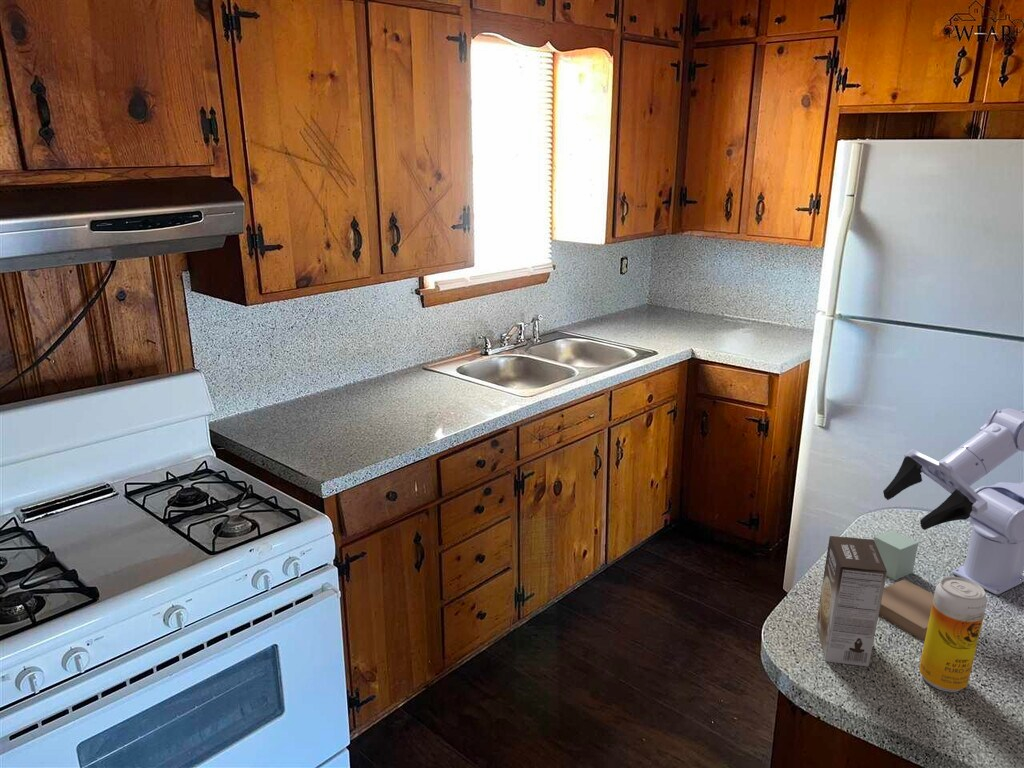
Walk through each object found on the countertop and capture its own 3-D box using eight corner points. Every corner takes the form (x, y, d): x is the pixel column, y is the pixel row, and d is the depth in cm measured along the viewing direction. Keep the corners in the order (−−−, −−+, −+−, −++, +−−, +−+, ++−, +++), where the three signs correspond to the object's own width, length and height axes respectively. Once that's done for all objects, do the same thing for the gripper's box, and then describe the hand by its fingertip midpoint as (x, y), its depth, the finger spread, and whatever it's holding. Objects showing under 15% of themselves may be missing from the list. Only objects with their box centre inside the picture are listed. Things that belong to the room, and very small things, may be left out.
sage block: (886, 559, 139) (892, 530, 137) (912, 572, 135) (918, 542, 133) (869, 566, 137) (874, 536, 135) (894, 580, 133) (900, 549, 131)
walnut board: (902, 592, 130) (904, 579, 129) (959, 623, 122) (962, 609, 121) (863, 608, 125) (866, 595, 125) (921, 642, 117) (924, 628, 116)
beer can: (946, 699, 105) (967, 604, 100) (908, 672, 110) (927, 580, 105) (977, 687, 107) (999, 594, 102) (938, 661, 112) (957, 571, 108)
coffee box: (814, 625, 120) (828, 533, 115) (857, 630, 119) (873, 538, 114) (824, 662, 112) (840, 565, 107) (871, 668, 110) (889, 570, 106)
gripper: (932, 422, 128) (866, 469, 127) (1009, 474, 116) (937, 526, 116) (936, 447, 132) (872, 493, 132) (1011, 499, 121) (941, 550, 120)
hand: (903, 510), depth 124 cm, fingers open, 7 cm apart
